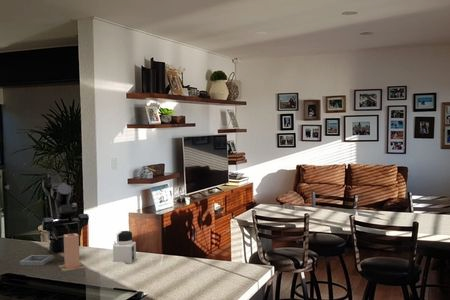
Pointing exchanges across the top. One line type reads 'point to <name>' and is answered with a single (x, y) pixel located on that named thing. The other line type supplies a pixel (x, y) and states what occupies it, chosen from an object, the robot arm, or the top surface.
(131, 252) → the container
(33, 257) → the tray
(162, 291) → the top surface
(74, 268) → the stake block
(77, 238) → the sleeve
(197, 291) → the top surface
